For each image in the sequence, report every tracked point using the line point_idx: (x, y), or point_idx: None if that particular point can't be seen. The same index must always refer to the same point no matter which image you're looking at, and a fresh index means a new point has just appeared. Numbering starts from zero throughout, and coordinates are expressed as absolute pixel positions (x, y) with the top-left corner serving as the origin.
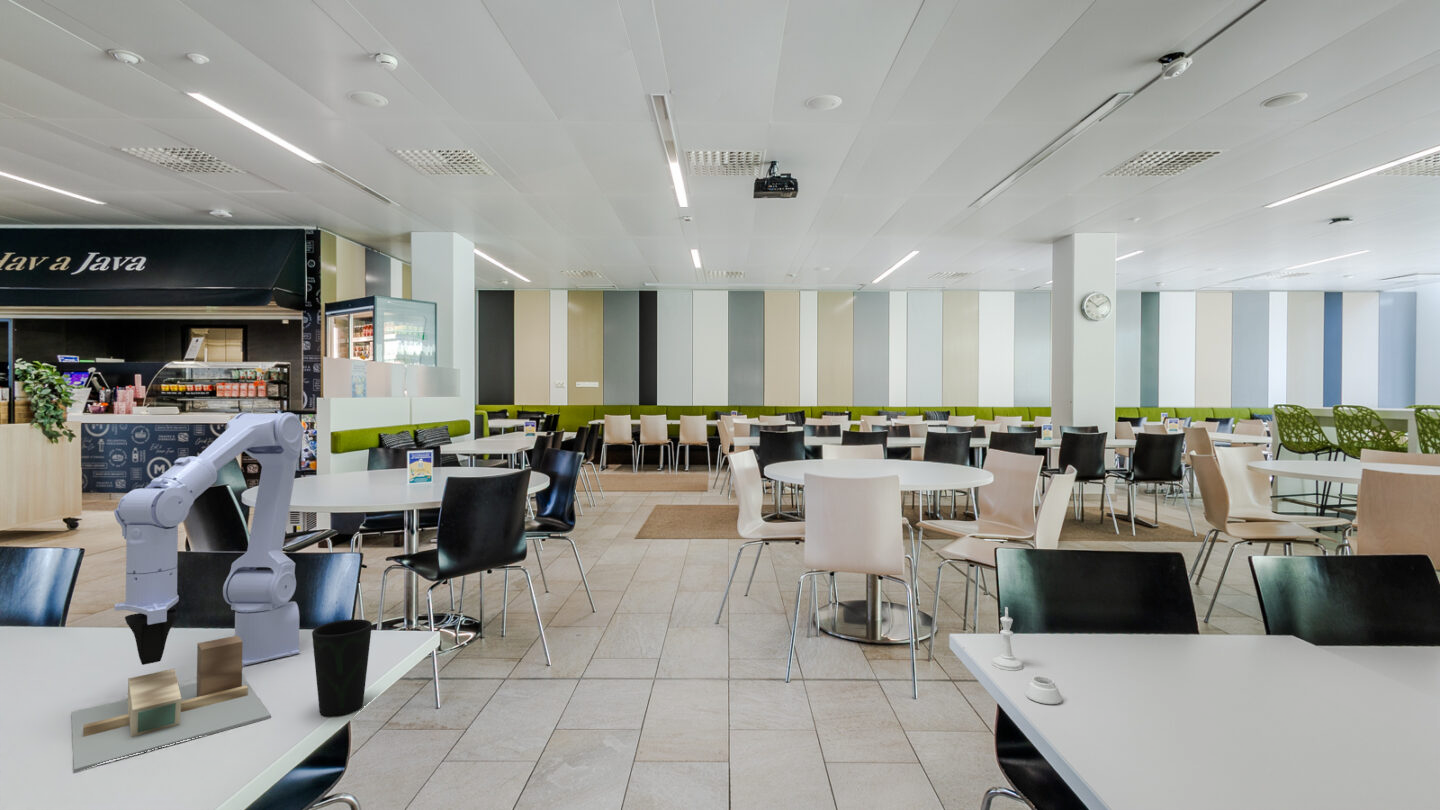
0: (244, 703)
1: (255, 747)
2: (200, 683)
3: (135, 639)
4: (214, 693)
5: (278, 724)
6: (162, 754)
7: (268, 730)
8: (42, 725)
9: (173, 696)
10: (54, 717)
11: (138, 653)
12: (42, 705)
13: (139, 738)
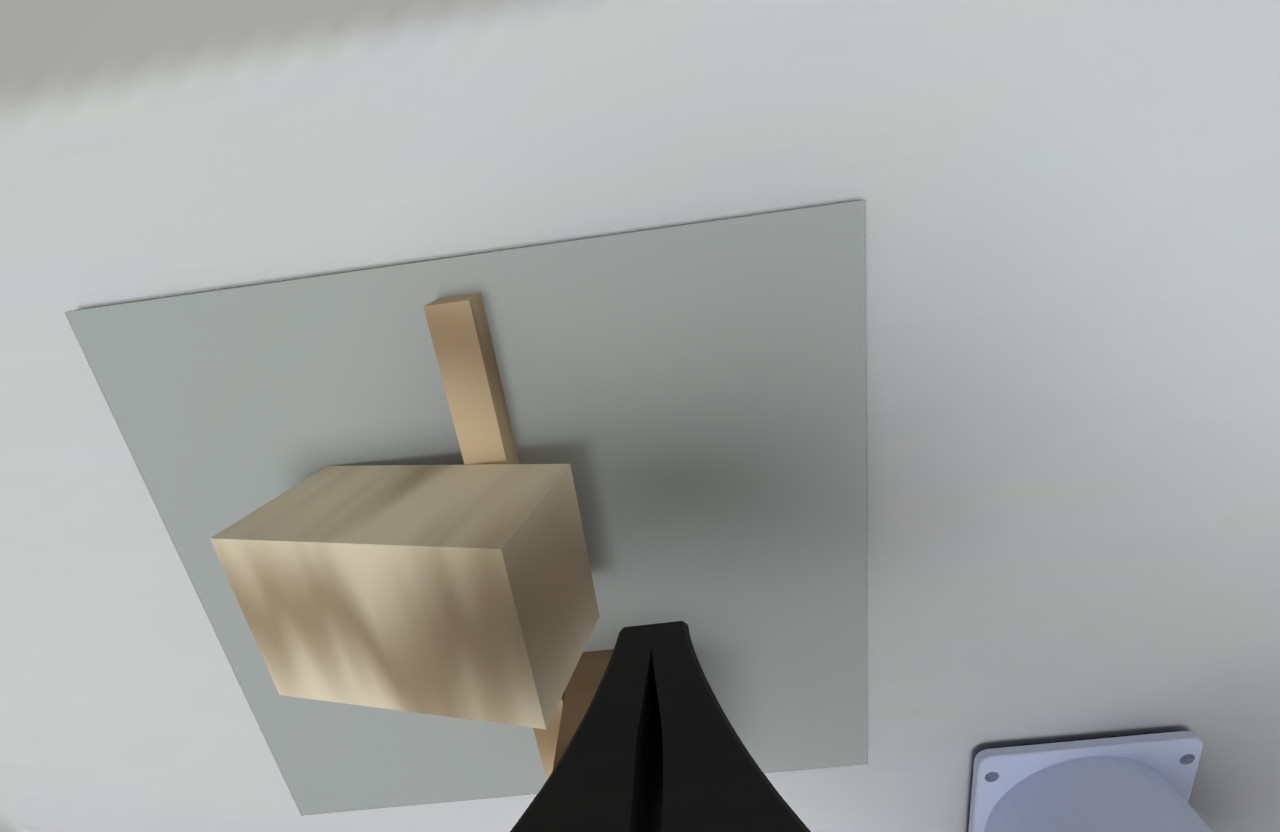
0: (471, 762)
1: (69, 763)
2: (575, 720)
3: (725, 740)
4: (559, 717)
5: (235, 816)
6: (130, 555)
7: (197, 794)
8: (792, 87)
9: (293, 677)
10: (883, 125)
11: (658, 666)
12: (1172, 25)
13: None
